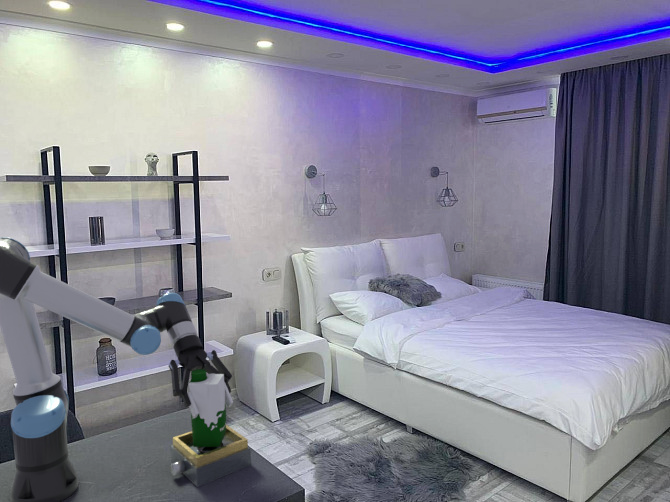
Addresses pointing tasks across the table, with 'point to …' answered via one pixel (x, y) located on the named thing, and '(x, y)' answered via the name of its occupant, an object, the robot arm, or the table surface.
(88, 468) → the table surface
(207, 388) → the soya milk
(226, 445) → the wooden rimmed tray
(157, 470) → the table surface
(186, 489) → the table surface
